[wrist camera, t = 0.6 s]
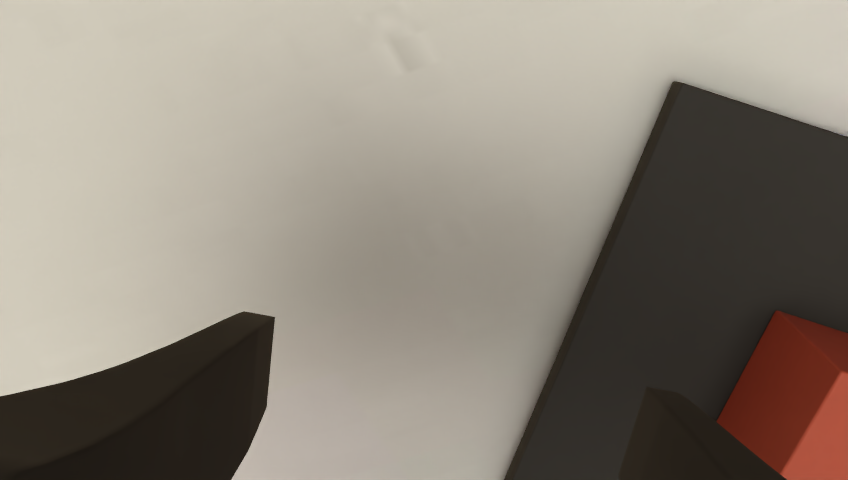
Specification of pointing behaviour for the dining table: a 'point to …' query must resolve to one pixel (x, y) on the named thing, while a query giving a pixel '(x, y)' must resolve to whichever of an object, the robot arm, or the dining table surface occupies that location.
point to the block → (794, 400)
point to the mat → (694, 276)
